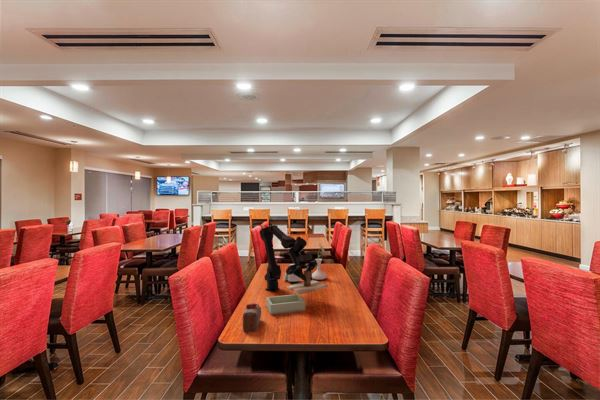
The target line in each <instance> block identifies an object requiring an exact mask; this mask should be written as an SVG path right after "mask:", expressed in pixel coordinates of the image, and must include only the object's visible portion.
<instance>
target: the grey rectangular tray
mask: <svg viewBox="0 0 600 400" xmlns="http://www.w3.org/2000/svg"><path fill="white" fill-rule="evenodd" d="M265 299H266V301H265V303H266V304H265V307H266V309H267V311H268V312H269V315H270V316H274V315H275V316H276V315H281V314H282V315H283V314H292V313H299V312H306V300H305V299H304V298H303V297H302V296H301V294H299V293H297V294H296V293H295V294H287V295H285V294H284V295H275V296H268V297H267V296H266V297H265Z"/></svg>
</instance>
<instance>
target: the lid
mask: <svg viewBox="0 0 600 400" xmlns="http://www.w3.org/2000/svg"><path fill="white" fill-rule="evenodd" d="M311 273H312V270H311V271H305V270H304V271H303V274H304V276H305V278H306V280H307V281H306V282H305V281H302V282H299V283H292V284H290V285H286V287H285V288H286V289H288V290H290V291H292V292H295V293H297V294H299V295H303V294H308V293H311V292H315V291H319V290H322V289H326V288H329V285H328V284H326V283H323V282H320V281H317V280H315V279H312V281H311Z"/></svg>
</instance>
